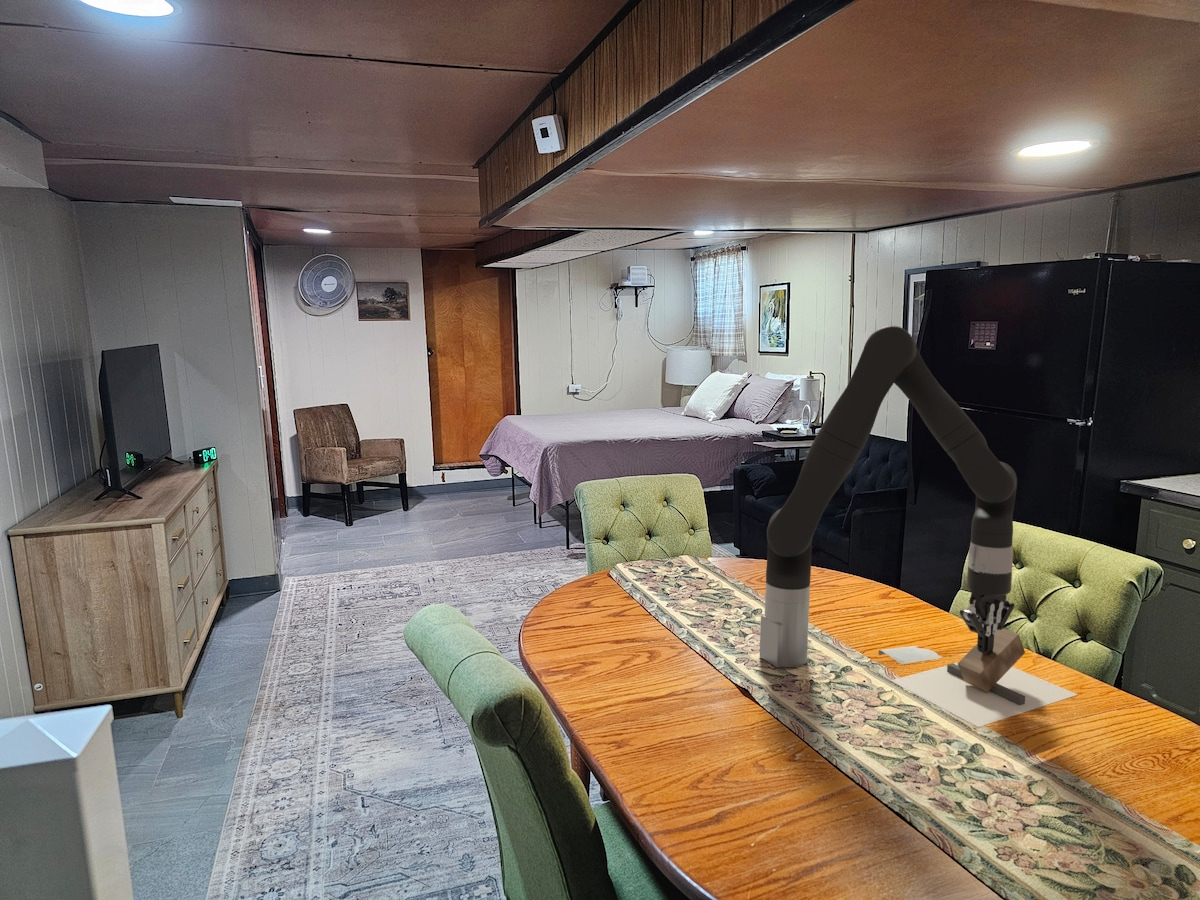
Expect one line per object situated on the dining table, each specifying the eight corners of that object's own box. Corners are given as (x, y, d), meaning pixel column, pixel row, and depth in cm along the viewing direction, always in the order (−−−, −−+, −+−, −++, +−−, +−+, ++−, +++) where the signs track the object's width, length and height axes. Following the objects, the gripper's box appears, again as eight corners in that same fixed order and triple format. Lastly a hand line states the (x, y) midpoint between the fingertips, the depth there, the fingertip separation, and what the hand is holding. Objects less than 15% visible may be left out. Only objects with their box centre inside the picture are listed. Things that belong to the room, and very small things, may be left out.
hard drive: (902, 664, 156) (952, 658, 159) (878, 649, 164) (926, 643, 167) (902, 672, 156) (951, 665, 159) (878, 656, 164) (925, 649, 167)
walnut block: (979, 673, 141) (1018, 634, 144) (957, 663, 145) (995, 625, 149) (987, 692, 143) (1025, 652, 146) (964, 681, 147) (1002, 643, 151)
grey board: (977, 732, 131) (978, 718, 131) (890, 685, 149) (890, 673, 149) (1077, 699, 143) (1078, 687, 143) (984, 659, 161) (985, 648, 160)
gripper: (995, 556, 148) (990, 639, 150) (948, 566, 142) (944, 651, 145) (1031, 566, 141) (1025, 652, 144) (983, 576, 136) (978, 666, 138)
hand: (984, 652), depth 144 cm, fingers closed
